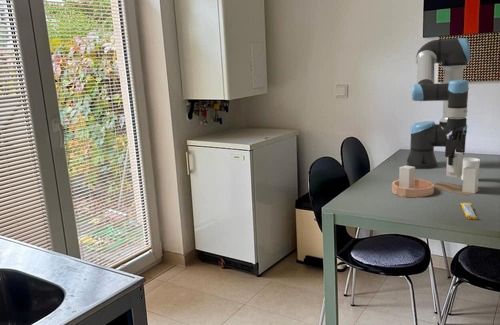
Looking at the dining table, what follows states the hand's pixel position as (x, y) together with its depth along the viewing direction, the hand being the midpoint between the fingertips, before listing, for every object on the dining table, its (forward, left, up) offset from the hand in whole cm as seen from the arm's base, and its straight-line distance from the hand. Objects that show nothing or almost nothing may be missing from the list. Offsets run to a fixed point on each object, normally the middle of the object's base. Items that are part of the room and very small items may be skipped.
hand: (454, 170), depth 197 cm
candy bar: (+24, +19, -9) cm, 32 cm away
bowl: (+16, -10, -8) cm, 20 cm away
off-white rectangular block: (0, 0, -2) cm, 2 cm away
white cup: (-17, -2, -8) cm, 20 cm away
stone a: (+16, -13, -7) cm, 22 cm away
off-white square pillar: (+1, +8, -8) cm, 11 cm away
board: (+1, 0, -8) cm, 8 cm away
